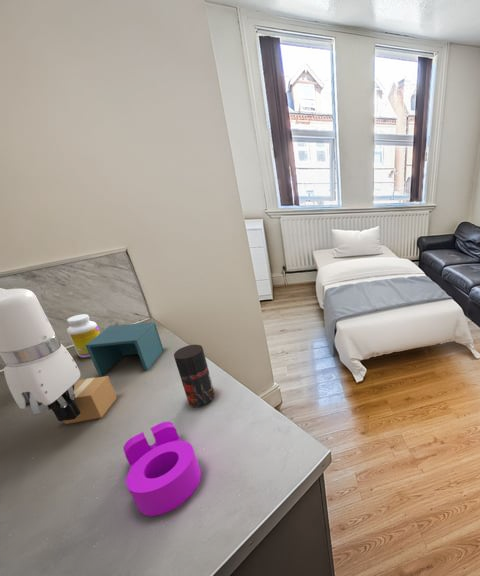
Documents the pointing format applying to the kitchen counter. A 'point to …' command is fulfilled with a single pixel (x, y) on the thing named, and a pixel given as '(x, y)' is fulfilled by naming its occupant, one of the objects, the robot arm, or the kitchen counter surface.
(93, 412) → the box
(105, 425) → the kitchen counter surface
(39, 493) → the kitchen counter surface
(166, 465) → the magenta ring bracket
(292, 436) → the kitchen counter surface
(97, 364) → the shelf
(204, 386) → the deodorant
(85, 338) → the supplement bottle
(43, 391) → the robot arm
